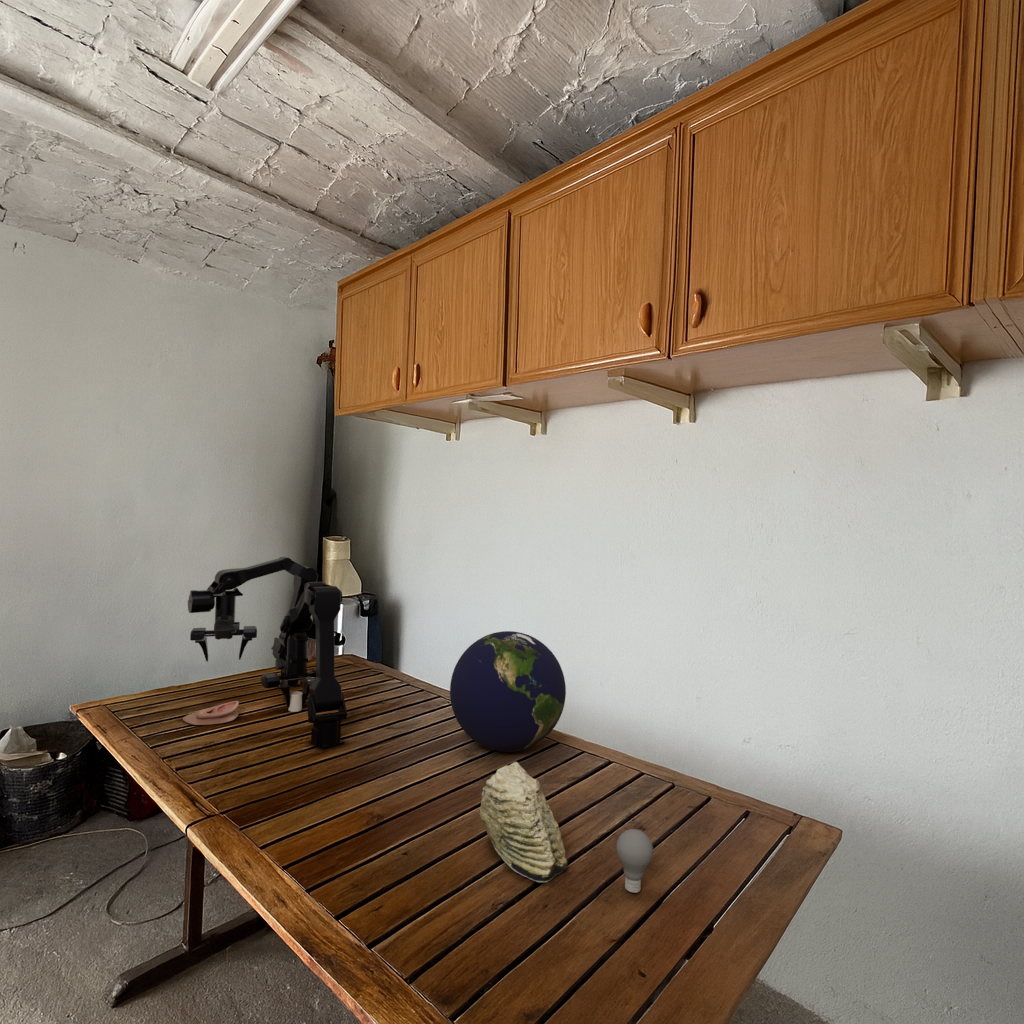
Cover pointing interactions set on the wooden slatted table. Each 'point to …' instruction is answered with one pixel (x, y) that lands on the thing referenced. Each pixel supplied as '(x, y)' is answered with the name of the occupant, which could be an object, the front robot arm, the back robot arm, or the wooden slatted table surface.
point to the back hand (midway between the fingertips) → (223, 660)
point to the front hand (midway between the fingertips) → (295, 706)
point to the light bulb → (634, 857)
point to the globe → (507, 691)
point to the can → (295, 701)
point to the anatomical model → (214, 714)
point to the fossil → (522, 824)
